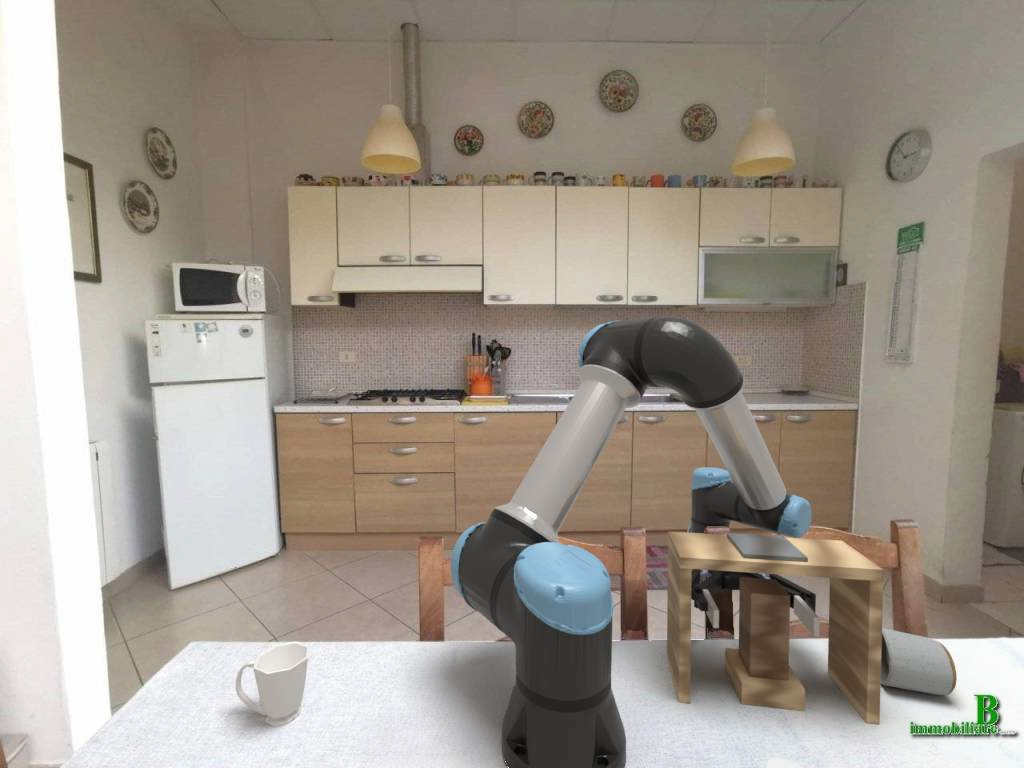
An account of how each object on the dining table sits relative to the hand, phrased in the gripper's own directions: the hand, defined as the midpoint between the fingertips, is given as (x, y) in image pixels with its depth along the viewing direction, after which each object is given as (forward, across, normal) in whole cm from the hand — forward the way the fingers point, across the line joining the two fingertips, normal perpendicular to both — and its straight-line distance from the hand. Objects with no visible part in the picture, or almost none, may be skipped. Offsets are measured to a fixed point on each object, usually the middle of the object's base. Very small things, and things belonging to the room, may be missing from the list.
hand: (765, 623), depth 67 cm
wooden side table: (0, 0, -9) cm, 9 cm away
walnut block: (0, 0, -6) cm, 6 cm away
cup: (+16, +68, -10) cm, 70 cm away
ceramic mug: (-5, -21, -10) cm, 23 cm away
